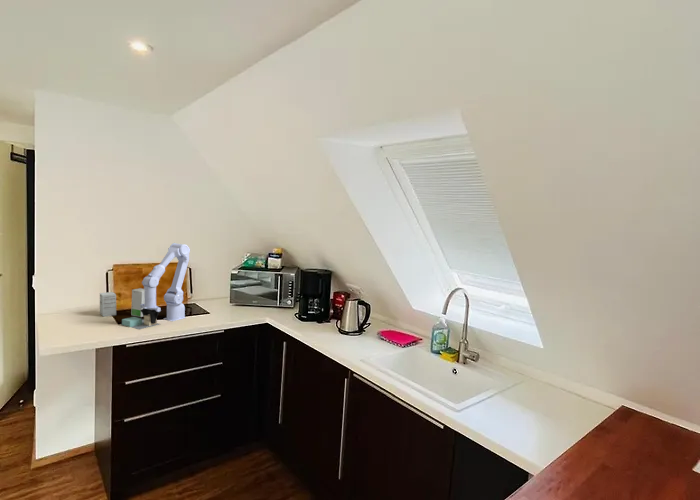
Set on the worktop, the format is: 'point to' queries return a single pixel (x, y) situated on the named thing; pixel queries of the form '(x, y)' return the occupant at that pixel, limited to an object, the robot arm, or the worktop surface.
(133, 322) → the plinth
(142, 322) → the mat
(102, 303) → the supplement box
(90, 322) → the worktop surface
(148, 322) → the maple block
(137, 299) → the skincare box
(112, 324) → the worktop surface
